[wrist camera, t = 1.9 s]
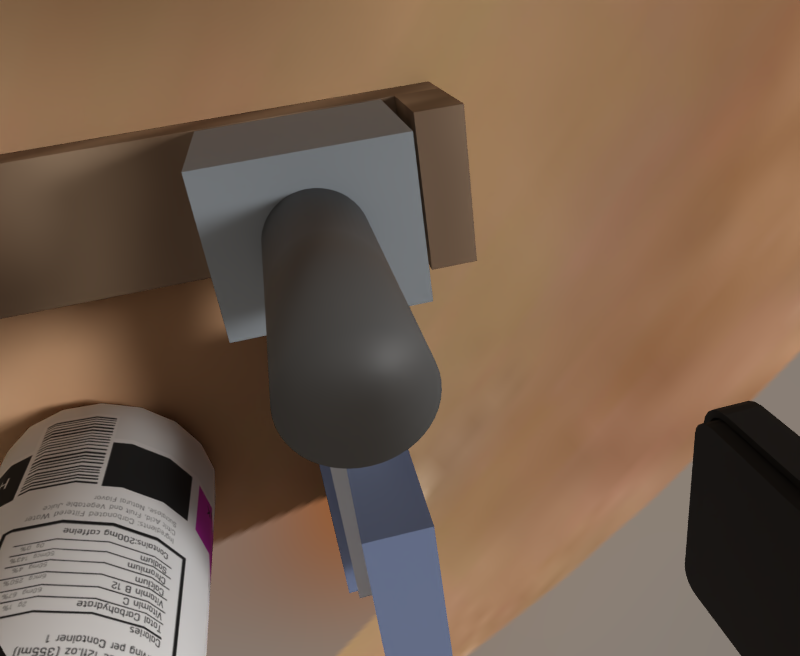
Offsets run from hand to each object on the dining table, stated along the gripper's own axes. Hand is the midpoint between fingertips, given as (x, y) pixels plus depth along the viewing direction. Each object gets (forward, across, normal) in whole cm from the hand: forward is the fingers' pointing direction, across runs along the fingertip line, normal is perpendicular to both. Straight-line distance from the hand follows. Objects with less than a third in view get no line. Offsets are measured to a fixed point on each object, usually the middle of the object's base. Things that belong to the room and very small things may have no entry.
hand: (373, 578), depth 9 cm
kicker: (+18, -1, +7) cm, 19 cm away
